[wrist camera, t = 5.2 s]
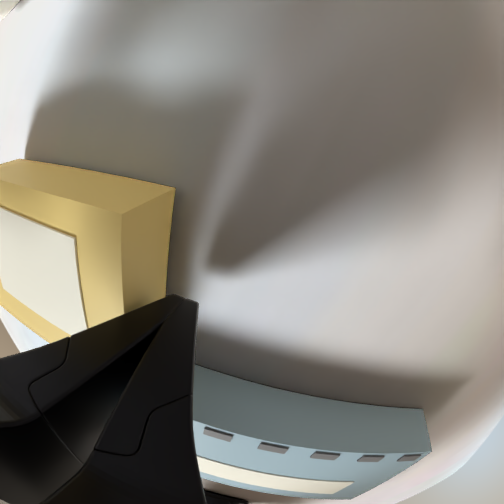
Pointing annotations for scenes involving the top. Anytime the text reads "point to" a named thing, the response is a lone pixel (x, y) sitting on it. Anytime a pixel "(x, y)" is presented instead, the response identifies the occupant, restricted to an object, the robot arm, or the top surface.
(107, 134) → the top surface
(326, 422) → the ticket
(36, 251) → the yellow box
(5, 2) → the mug
